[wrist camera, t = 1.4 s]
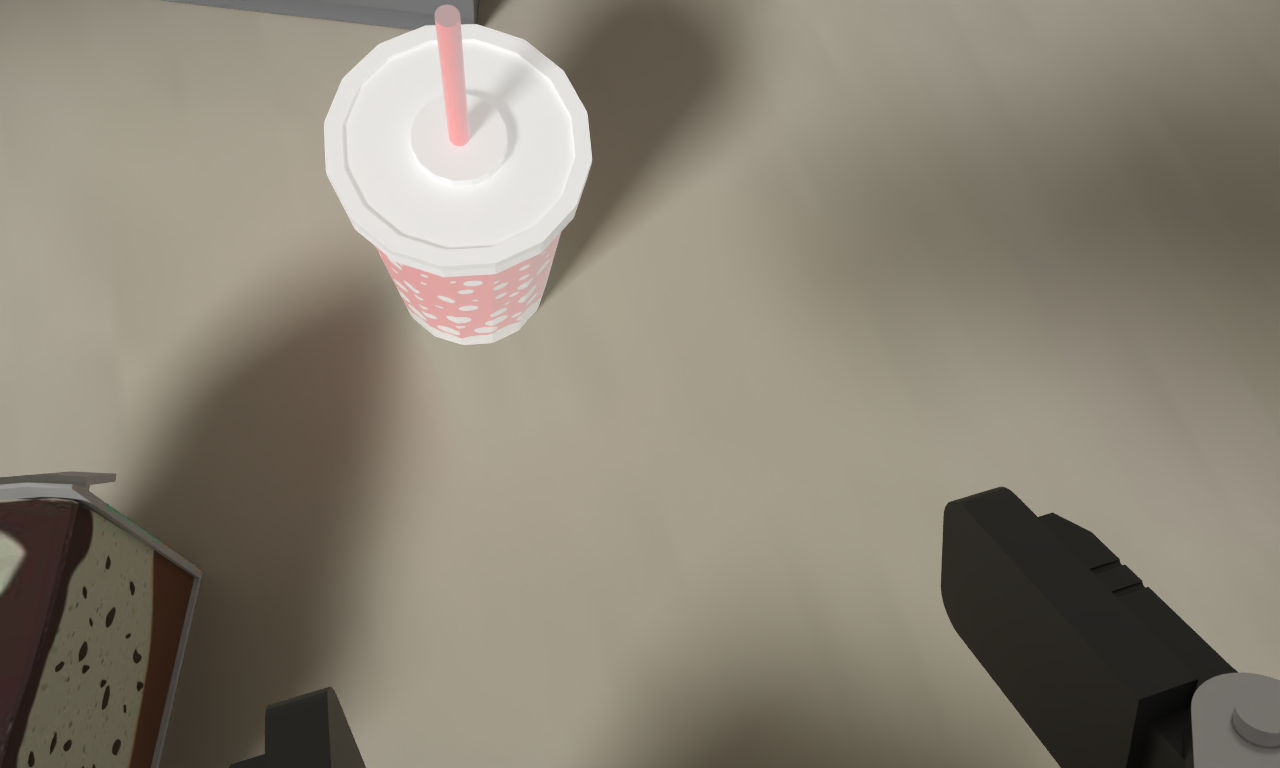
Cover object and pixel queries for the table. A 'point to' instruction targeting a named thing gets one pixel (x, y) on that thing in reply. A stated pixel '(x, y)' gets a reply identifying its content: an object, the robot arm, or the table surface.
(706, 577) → the table surface
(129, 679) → the food container
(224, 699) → the table surface
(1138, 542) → the table surface
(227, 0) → the tray
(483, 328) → the beverage cup
